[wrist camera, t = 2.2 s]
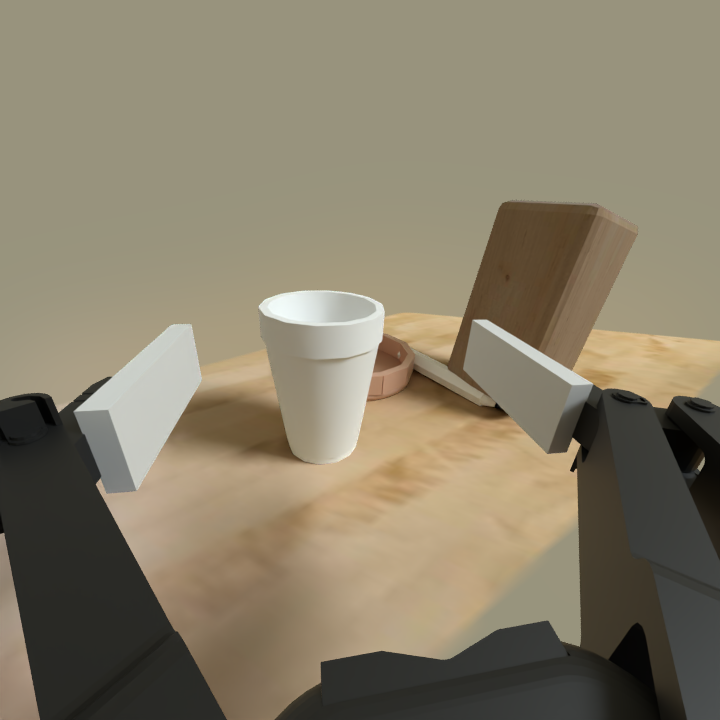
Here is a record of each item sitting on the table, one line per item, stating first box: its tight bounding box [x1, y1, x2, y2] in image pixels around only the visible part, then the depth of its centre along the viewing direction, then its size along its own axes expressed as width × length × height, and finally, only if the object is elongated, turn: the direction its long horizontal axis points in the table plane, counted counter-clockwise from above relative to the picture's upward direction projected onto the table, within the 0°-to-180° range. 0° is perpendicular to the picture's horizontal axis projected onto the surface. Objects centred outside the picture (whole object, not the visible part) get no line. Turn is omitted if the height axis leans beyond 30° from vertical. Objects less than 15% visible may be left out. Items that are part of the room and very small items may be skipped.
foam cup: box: [258, 290, 385, 465], centre depth 27 cm, size 10×9×13 cm
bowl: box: [366, 333, 415, 401], centre depth 42 cm, size 15×15×3 cm
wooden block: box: [448, 200, 638, 398], centre depth 36 cm, size 10×10×20 cm
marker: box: [397, 348, 502, 409], centre depth 40 cm, size 3×2×16 cm
